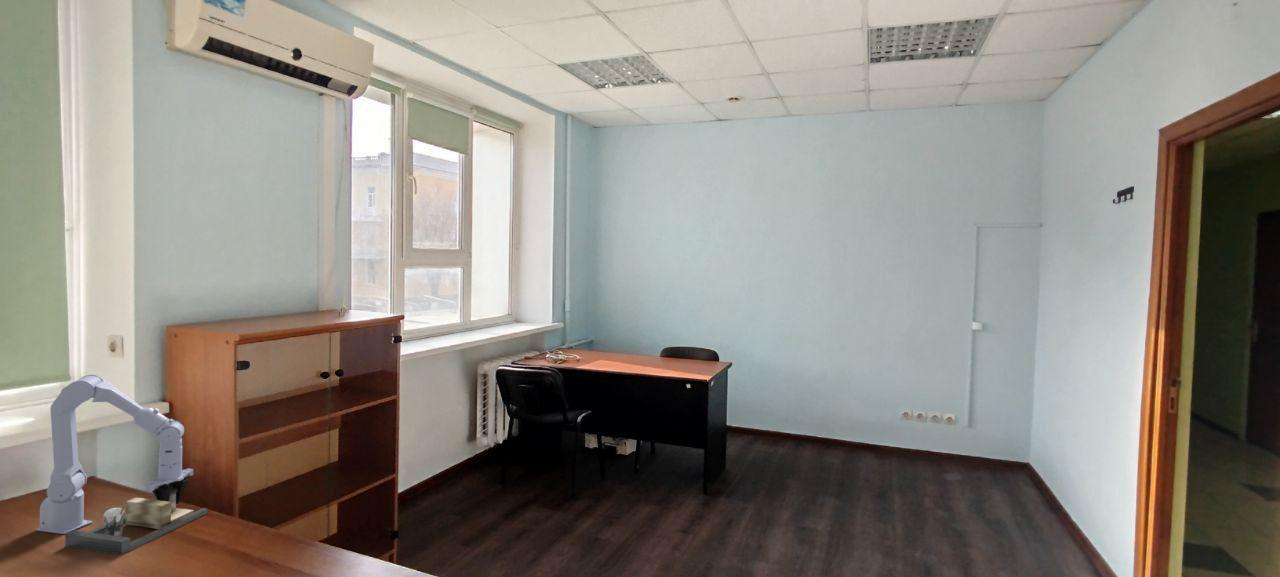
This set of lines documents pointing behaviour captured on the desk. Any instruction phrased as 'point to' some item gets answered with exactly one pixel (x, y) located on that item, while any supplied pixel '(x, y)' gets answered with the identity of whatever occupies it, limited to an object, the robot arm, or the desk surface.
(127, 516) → the clamp jaw
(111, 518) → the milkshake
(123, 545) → the grey tray
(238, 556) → the desk surface
